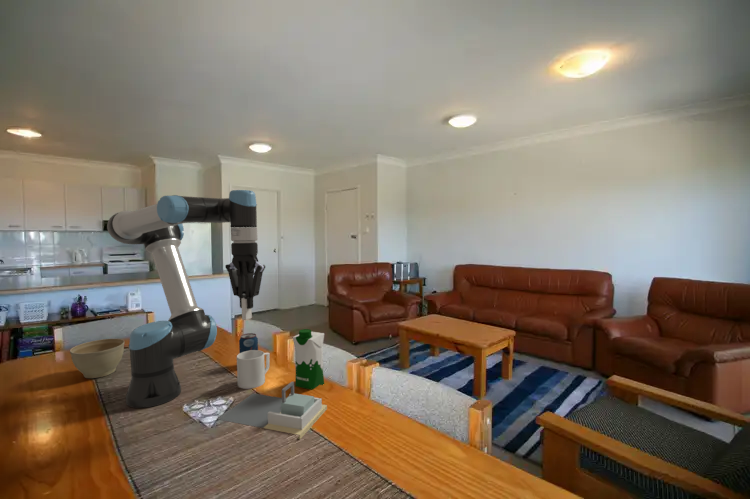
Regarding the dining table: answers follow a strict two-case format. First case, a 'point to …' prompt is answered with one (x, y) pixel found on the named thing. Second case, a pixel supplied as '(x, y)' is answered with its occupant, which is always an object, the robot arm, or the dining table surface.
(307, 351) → the milk carton
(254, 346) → the soda can
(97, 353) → the planter bowl
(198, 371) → the dining table surface
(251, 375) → the mug
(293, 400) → the grey boxy piece
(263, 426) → the dock
